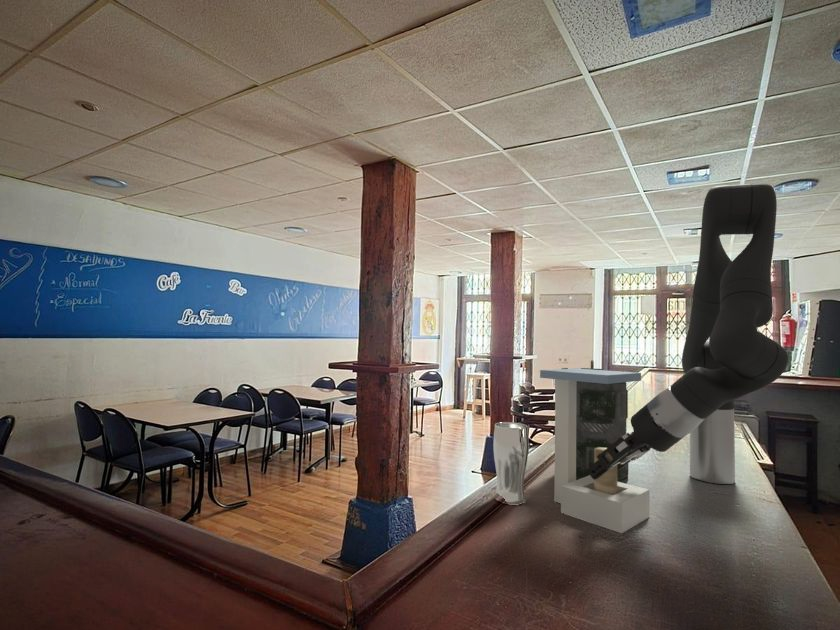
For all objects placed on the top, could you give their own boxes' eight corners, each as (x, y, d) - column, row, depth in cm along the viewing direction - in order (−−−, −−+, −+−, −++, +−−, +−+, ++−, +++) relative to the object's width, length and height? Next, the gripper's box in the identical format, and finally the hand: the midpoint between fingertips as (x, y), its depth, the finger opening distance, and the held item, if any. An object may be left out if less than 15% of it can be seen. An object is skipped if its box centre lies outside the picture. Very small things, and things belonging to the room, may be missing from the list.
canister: (632, 494, 97) (632, 363, 98) (555, 485, 102) (556, 360, 103) (624, 474, 112) (624, 360, 113) (557, 467, 117) (558, 358, 118)
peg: (597, 509, 87) (598, 446, 88) (619, 514, 85) (619, 449, 86) (591, 515, 84) (591, 450, 85) (613, 521, 82) (613, 453, 82)
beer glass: (507, 508, 86) (508, 429, 87) (485, 497, 93) (486, 423, 93) (535, 503, 90) (536, 427, 90) (512, 492, 96) (513, 421, 97)
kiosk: (618, 535, 76) (618, 376, 77) (538, 508, 87) (540, 370, 89) (652, 515, 85) (651, 373, 86) (575, 493, 96) (576, 368, 98)
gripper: (666, 398, 84) (606, 448, 92) (633, 404, 75) (569, 459, 83) (698, 431, 80) (632, 481, 88) (667, 442, 71) (597, 497, 79)
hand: (602, 470), depth 85 cm, fingers open, 8 cm apart
